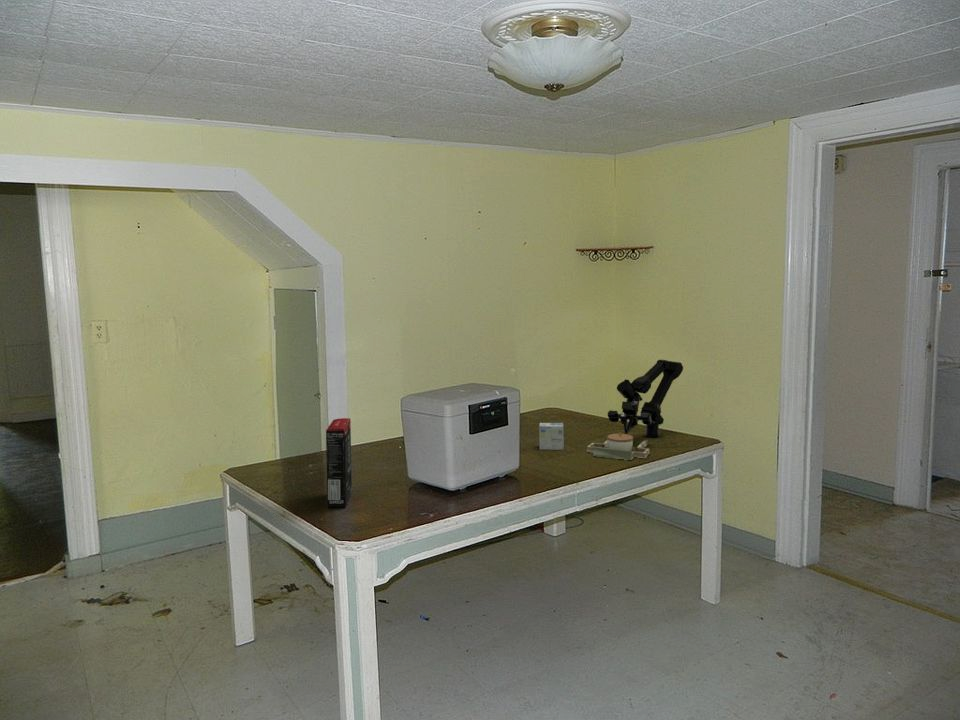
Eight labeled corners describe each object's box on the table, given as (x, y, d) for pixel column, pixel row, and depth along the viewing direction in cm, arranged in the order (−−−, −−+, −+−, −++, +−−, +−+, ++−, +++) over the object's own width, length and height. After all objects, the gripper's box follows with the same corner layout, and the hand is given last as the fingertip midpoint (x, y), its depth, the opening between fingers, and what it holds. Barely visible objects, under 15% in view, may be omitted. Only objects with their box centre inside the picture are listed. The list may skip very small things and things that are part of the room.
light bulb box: (563, 446, 315) (563, 422, 313) (563, 450, 308) (563, 425, 307) (539, 445, 316) (539, 422, 314) (539, 449, 309) (539, 425, 308)
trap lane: (602, 440, 324) (602, 431, 323) (657, 446, 313) (657, 437, 312) (583, 455, 299) (583, 446, 299) (641, 462, 288) (642, 452, 288)
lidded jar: (628, 450, 306) (629, 429, 305) (636, 457, 295) (636, 435, 294) (604, 451, 305) (604, 430, 304) (610, 458, 295) (611, 436, 293)
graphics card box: (334, 492, 253) (331, 418, 250) (353, 492, 254) (351, 417, 250) (327, 509, 236) (323, 429, 233) (348, 508, 237) (345, 428, 233)
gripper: (608, 392, 317) (601, 422, 309) (650, 395, 309) (644, 425, 301) (613, 406, 325) (606, 435, 317) (654, 409, 317) (648, 439, 309)
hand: (625, 433), depth 311 cm, fingers closed
